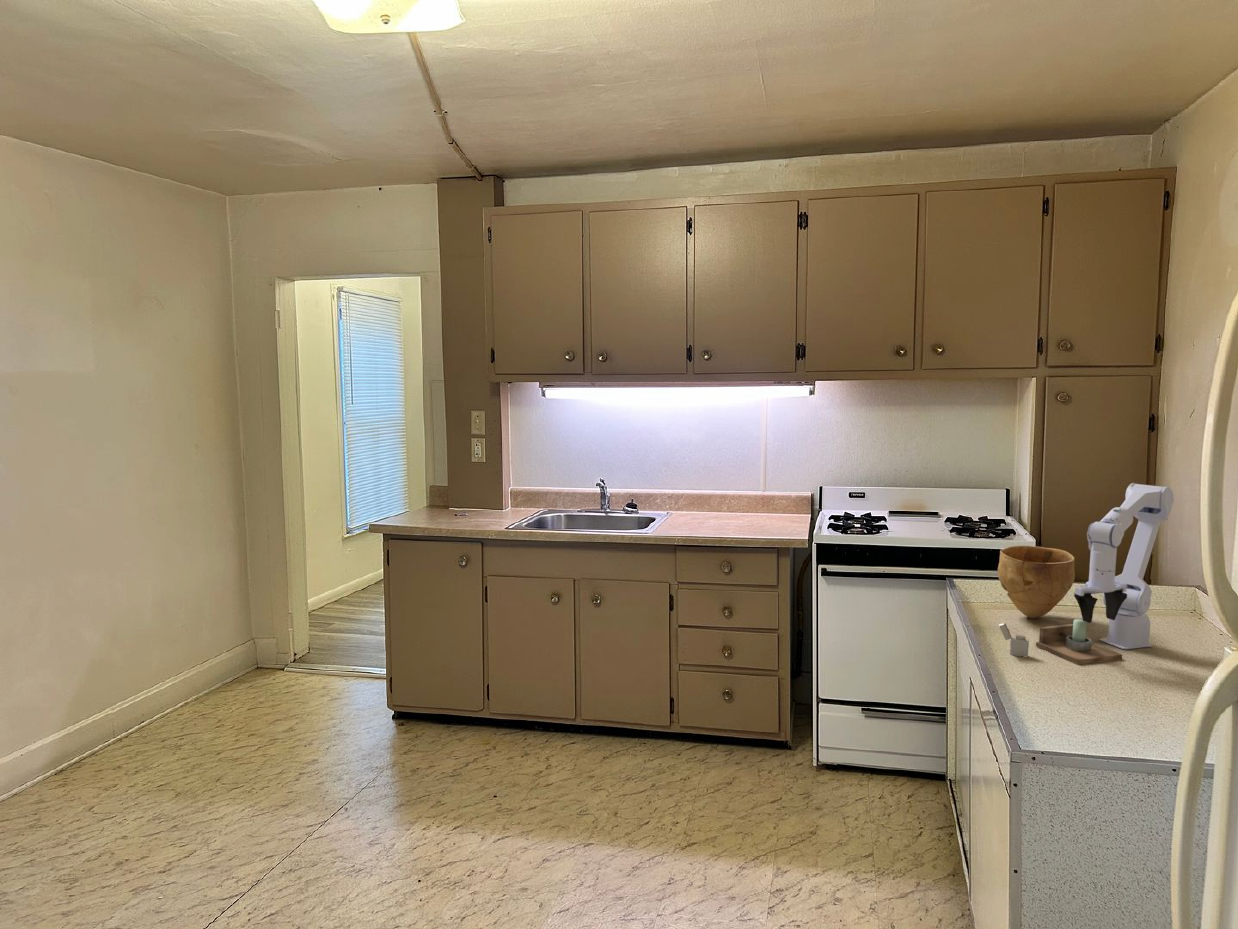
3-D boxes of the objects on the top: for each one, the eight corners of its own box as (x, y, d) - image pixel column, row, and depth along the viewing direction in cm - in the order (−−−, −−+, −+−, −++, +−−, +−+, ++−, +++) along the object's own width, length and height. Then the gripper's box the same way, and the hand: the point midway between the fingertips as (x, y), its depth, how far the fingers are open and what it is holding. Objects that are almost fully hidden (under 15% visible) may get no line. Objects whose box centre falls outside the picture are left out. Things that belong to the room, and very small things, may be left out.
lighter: (1028, 655, 215) (1029, 625, 214) (1027, 657, 214) (1029, 627, 213) (998, 650, 219) (999, 621, 218) (997, 652, 217) (999, 623, 217)
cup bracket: (1078, 641, 226) (1079, 623, 225) (1121, 659, 212) (1123, 639, 212) (1035, 646, 222) (1036, 627, 221) (1077, 664, 209) (1078, 644, 208)
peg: (1079, 644, 219) (1081, 618, 218) (1087, 648, 216) (1089, 622, 215) (1069, 645, 218) (1070, 619, 217) (1077, 649, 215) (1078, 623, 214)
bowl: (1086, 629, 236) (1090, 560, 234) (1014, 629, 237) (1018, 560, 234) (1049, 607, 257) (1053, 544, 255) (983, 607, 257) (986, 544, 255)
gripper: (1111, 563, 218) (1108, 613, 220) (1066, 567, 214) (1063, 618, 216) (1135, 569, 211) (1131, 621, 213) (1089, 573, 207) (1085, 626, 209)
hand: (1098, 620), depth 214 cm, fingers open, 7 cm apart
